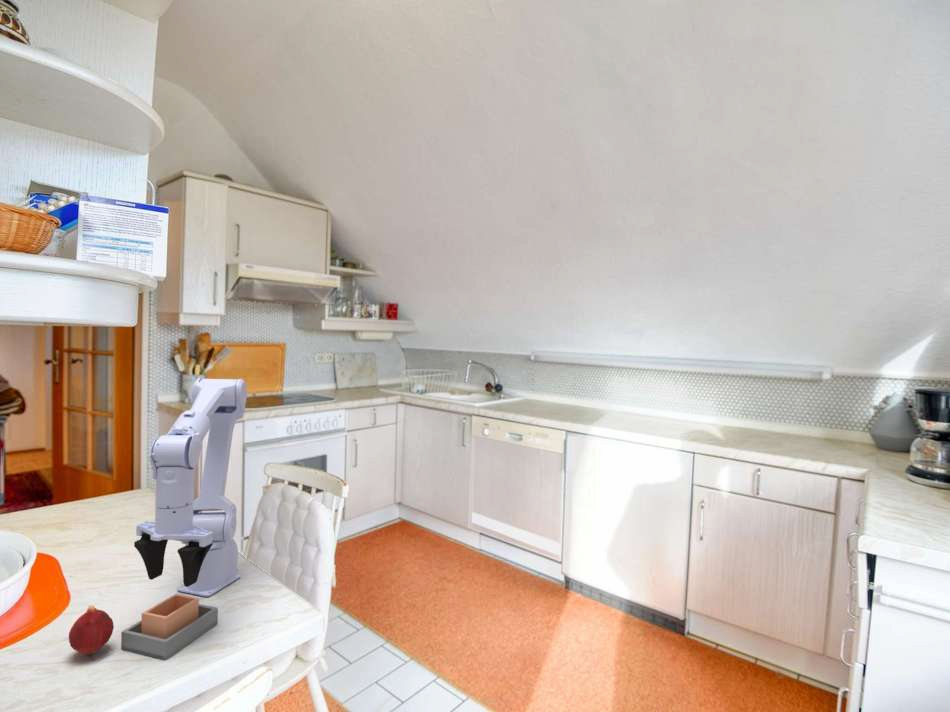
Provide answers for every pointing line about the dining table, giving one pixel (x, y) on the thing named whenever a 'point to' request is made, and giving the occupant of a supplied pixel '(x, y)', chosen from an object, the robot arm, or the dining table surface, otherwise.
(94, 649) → the onion
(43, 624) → the dining table surface
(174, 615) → the small crate
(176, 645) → the big crate
